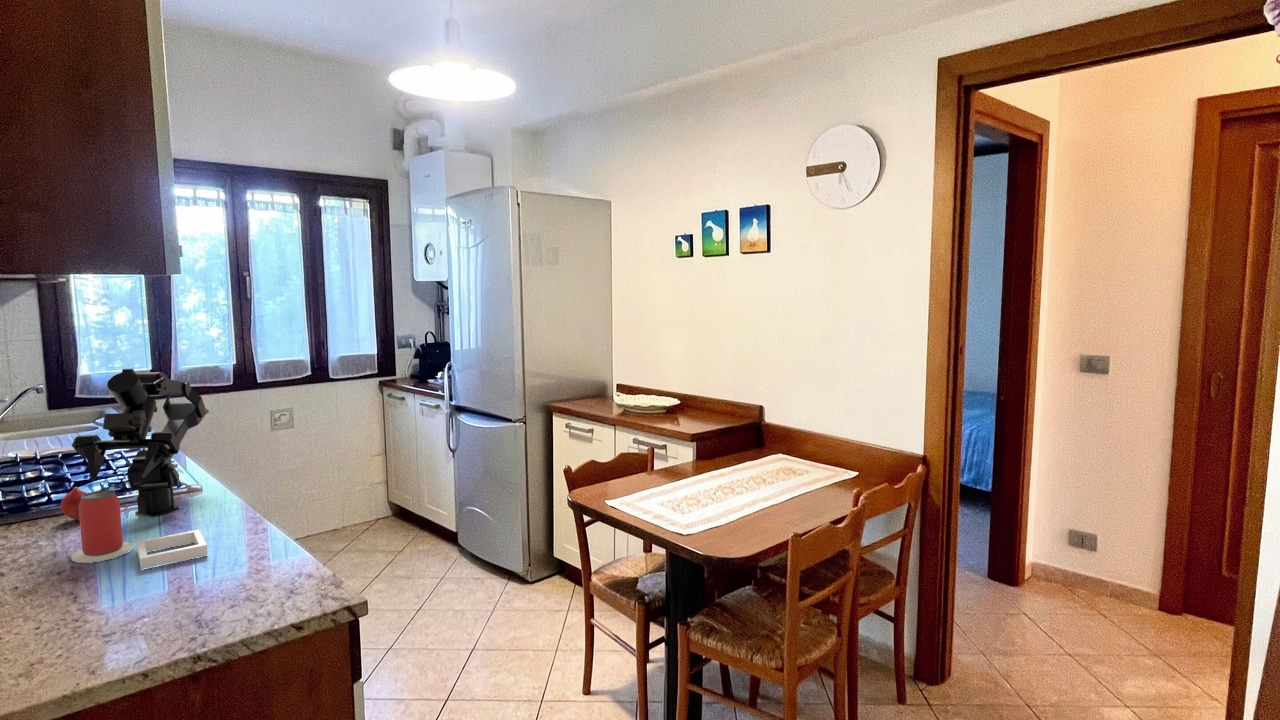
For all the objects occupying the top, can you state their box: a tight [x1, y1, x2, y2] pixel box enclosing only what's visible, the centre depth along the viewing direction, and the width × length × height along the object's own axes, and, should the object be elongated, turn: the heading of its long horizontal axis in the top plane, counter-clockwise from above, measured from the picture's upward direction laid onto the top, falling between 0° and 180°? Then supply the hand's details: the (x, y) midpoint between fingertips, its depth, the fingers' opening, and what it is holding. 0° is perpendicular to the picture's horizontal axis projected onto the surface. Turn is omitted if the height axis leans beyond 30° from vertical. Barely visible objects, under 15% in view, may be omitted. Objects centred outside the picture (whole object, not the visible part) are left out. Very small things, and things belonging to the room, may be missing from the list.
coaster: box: [71, 541, 134, 564], centre depth 139 cm, size 10×10×1 cm
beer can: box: [78, 489, 124, 556], centre depth 138 cm, size 7×7×12 cm
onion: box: [59, 486, 88, 521], centre depth 158 cm, size 6×6×8 cm
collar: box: [135, 529, 209, 570], centre depth 138 cm, size 11×11×2 cm
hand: (117, 478), depth 145 cm, fingers open, 9 cm apart
